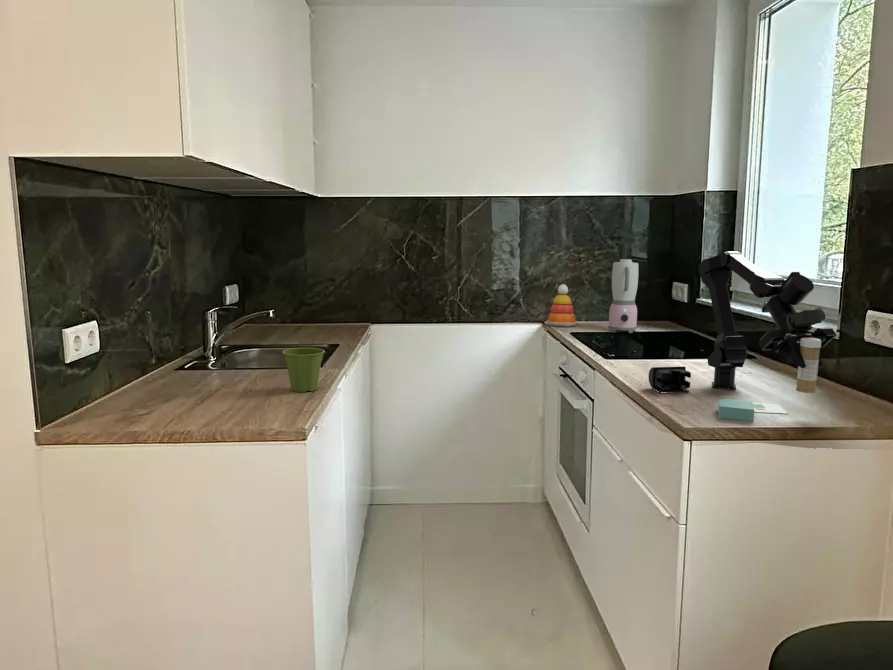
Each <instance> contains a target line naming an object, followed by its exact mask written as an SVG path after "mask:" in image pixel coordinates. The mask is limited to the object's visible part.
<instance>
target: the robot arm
mask: <svg viewBox="0 0 893 670" xmlns="http://www.w3.org/2000/svg"><path fill="white" fill-rule="evenodd" d="M731 272H733V273H735V274H737V275H738V276H739V277H740V278H741V279H743V280H744V281H745V282H746V283H748V284H749V290H750V291H751V292H752V294H753V295H754V296H755V297H756V298H758V299H769V300H767V301H765V302H763V306H762V308H761V313H762V314H763V313H769V314H770V316H771V318H772V320H773V322H774V324H773V325H772V328H773V329H769V330H767V332H766V333H765V334H764V335H763V336H762V337H761V338H760V339H759V342H758V345H759V347H760V348H761V351H772V350H773V348H774V344H776V348H775V349H774V353H778V354H779V355H781V356H783V357H784V358H787V359H788V360H789V361H791V362H792V363H793V364H795V365H797V367H798V366H799V367H801V368H805V367H806V365H805V362H804V360H803V358H802V356H801V353H800V349H799V347H798V343H800V340H801V338H817V339H820V340H821V347H820V350H819V364H818V369H819V368H821V367H822V366H823V361H822V360H823V359H822V350H821V349H822V348H824V347H826V346H827V345H829V343H830V342H831V341H833V339H836V338H835V337H836V336H837V334H836V332H835V330H834V329H833V328H832V327H817V328H816V329H815V330H814V331H813V332H812V333H808V332H811V330H812V329H813V327H812V326H814V325H816V324H817V325H818V324H822V321H824V320H826V313H825V311H824V310H823V309H822V308H821V307H815V308H814V309H806V310H801V311H798V312H797V311H796V309H795V307H794V306H798V305H800V304H801V303H802V302H803V301H804V300H806V299H805V298H807V297H808V296H809V295H810V293H812V291H813V290H814V288H815V285H814V283H813V281H812V280H810V279H809V278H808V277H807V276H805V275H802V274H801V273H800V272H799V271H792V272H790V274H788V277H787V278H786V279H785V278H784V277H782V276H780V275H778V274H775V273H773V272H772V273H771V272H767V271H765V270H762V269H761V268H760V267H759V266H757V265H756V264H754V263H753V262H751V261H750V260H749V259H747V258H746V257H744V256H743V254H742V253H741V252H739V251H732V250H731V251H724V252H721V253H720V254H717V255H715V256H711V257H709V258H703V260H702V261H701V262H700V263H699V265H698V274H699V275H700V280H701V282H702V283H703V284H704V285H705V286H706V287H707V288H708V290H709V294H710V300H711V306H712V311H713V312H712V313H713V316H714V321H715V326H716V333H717V336H716V339H715V342H714V343H713V349H714V350H713V352H712V353H711V354H710V355H708V357H707V364H708V366H709V367H712V368H714V372H713V373H714V374H713V376H714V377H713V381H712V382H711V388H712V389H723V390H733V391H734V390H736V389H737V387H736V386H737V385H736V383H735V382H736V369H737V368H743V367H744V364H745V363H746V358H747V356H748V351H747V350H748V347H747V345H746V344H747V343H746V338H745V336H744V335H740V334H738V332H737V331H736V326H735V322H734V321H735V320H734V315H733V312H732V306H731V301H730V296H729V295H730V294H729V291H728V283H729V281H730V279H731Z"/></svg>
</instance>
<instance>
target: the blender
mask: <svg viewBox="0 0 893 670" xmlns="http://www.w3.org/2000/svg"><path fill="white" fill-rule="evenodd" d="M611 272H612V273H611V292H612V298H613V299H612V302H611V305H610V307H609V310H608V311H609V312H608V313H609V315H608V329H610V330H611V333H617V331H627V333H628V334H633V333H634V331H635V330H637V324H638V323H637V322H638V306H637V305H636V296H637V291H638V285H639V263H638V262H634V261H633V260H632V259H625V258H623V259H619V261H616V262H615V261H614V262H613V263H612V271H611Z"/></svg>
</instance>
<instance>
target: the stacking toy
mask: <svg viewBox="0 0 893 670" xmlns="http://www.w3.org/2000/svg"><path fill="white" fill-rule="evenodd" d="M557 292H558V295H556V296H555V297H554V299H553V302H552V303H553V304H552V305H551V308H550V312H549V314H548V316H547V317H548V318H547V320H546V323H547V324H548V325H550V326H551V327H555V326H556V327H567V328H569V327H573V326H575V325H577V324H578V321H577V319H576V315H575V314H574V311H575V310H574V306H573V305H572V299H571V297H570V296H568V295H567V294H568V293H569V288H568V286H567V285H566V284H564V283H562V284H560V285H559V286H558V289H557Z"/></svg>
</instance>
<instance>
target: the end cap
mask: <svg viewBox="0 0 893 670" xmlns="http://www.w3.org/2000/svg"><path fill="white" fill-rule="evenodd" d="M691 377H692V373H691V372H690V371H688V370H686V366H659V367H657V366H655V367H654V366H653V367H651V368H650V369H649V371H648V383H649V385H650V387H651V388H652V389H653V388H654V389H655V390H657V391H659V392H686V393H690V390H689V389H690V388H691V382H690V381H688V380H687V379H686V378H688V379H691ZM655 390H654V391H655ZM657 391H656V392H657ZM659 392H658V393H659Z"/></svg>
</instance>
